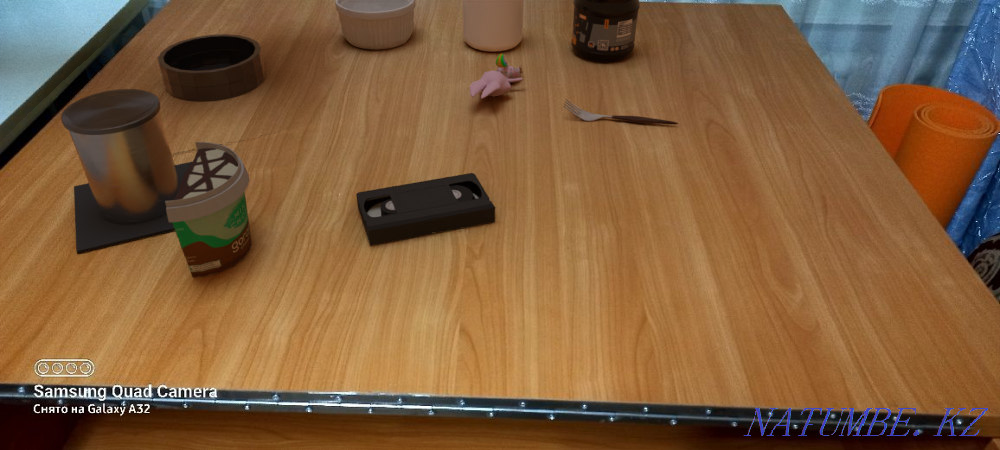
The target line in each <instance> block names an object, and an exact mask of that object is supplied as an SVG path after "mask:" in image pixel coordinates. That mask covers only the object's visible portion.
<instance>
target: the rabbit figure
mask: <svg viewBox="0 0 1000 450" xmlns="http://www.w3.org/2000/svg"><path fill="white" fill-rule="evenodd" d="M495 65H496V66H497V68H496V70H489V71H484V72H483V74H482V75H481V77H480V79H478V80H475V81H473V82H471V83H470V85H469V95H470V97H472V98H474V97H475V96H477V95H478V94H479V93H480V92H482V93H481V96H480V99H485V98H487V97H488V96H489V97H492V98H495V97H499V96H501V95H505V94H507V93H508V92H510V91H511V90H512V85H511V83H512V84H513V83H517V82H523V80H524V78H523V77H522V75H524V72H523V68H522V63H521V65H518V66H517V67H515V66H512V65H508V61H506V60H505V55H504V53H500V54H498V55H497V58H496V60H495Z"/></svg>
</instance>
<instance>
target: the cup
mask: <svg viewBox="0 0 1000 450" xmlns="http://www.w3.org/2000/svg"><path fill="white" fill-rule="evenodd" d="M523 23H524V0H462V32H463V33H462V34H463V40H464V41H465V42H466V44H467V45H468V46H470V47H471V48H472V49H476V50H479V51H483V52H491V53H492V52H493V53H494V52H504V51H508V50H511V49H514V48H515V47H517V46H518V45H519V44H520V43H521V41H522V40H523V32H524V31H523V29H524V26H523V25H524V24H523Z"/></svg>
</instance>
